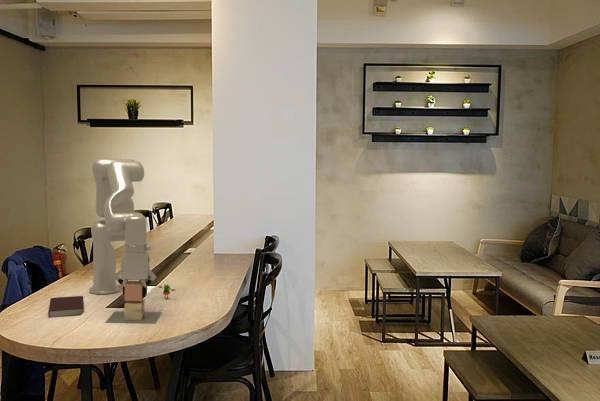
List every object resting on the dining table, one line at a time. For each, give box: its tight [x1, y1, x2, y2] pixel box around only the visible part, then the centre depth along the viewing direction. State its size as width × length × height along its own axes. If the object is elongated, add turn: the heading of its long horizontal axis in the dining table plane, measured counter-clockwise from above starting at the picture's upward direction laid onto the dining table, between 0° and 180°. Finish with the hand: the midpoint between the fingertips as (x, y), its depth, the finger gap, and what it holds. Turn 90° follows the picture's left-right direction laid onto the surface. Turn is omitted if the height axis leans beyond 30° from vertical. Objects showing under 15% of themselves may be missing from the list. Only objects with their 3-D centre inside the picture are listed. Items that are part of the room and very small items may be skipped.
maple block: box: [123, 298, 146, 320], centre depth 201 cm, size 6×6×6 cm
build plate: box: [104, 310, 163, 325], centre depth 201 cm, size 14×18×1 cm
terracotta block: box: [124, 280, 144, 302], centre depth 200 cm, size 6×6×6 cm
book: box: [47, 295, 85, 318], centre depth 211 cm, size 12×19×3 cm, turn 22°
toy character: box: [157, 284, 176, 300], centre depth 231 cm, size 11×12×7 cm
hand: (134, 296), depth 201 cm, fingers closed on terracotta block, 5 cm apart
